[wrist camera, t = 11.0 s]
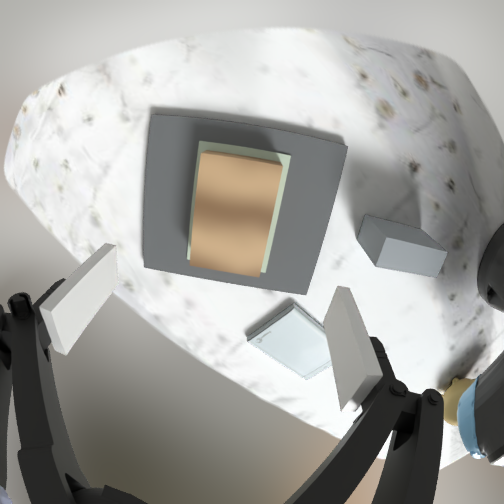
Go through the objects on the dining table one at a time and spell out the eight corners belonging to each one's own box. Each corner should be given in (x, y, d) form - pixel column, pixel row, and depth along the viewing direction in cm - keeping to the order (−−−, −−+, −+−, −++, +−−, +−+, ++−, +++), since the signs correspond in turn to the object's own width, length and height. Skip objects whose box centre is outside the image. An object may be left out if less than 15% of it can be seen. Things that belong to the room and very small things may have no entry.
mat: (345, 145, 25) (348, 146, 24) (305, 291, 32) (306, 296, 31) (154, 114, 24) (150, 114, 23) (146, 264, 31) (143, 268, 30)
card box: (259, 265, 30) (259, 277, 27) (194, 254, 29) (189, 265, 27) (281, 162, 25) (283, 166, 23) (206, 150, 24) (200, 152, 22)
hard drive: (246, 342, 35) (305, 381, 38) (294, 308, 32) (350, 355, 36) (246, 334, 36) (304, 373, 40) (293, 299, 34) (348, 346, 37)
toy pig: (481, 369, 41) (499, 402, 32) (442, 401, 46) (456, 435, 36) (470, 358, 39) (491, 395, 30) (426, 394, 44) (442, 433, 34)
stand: (421, 229, 28) (447, 252, 23) (413, 252, 29) (436, 277, 24) (364, 214, 28) (386, 237, 22) (356, 239, 29) (375, 266, 24)
